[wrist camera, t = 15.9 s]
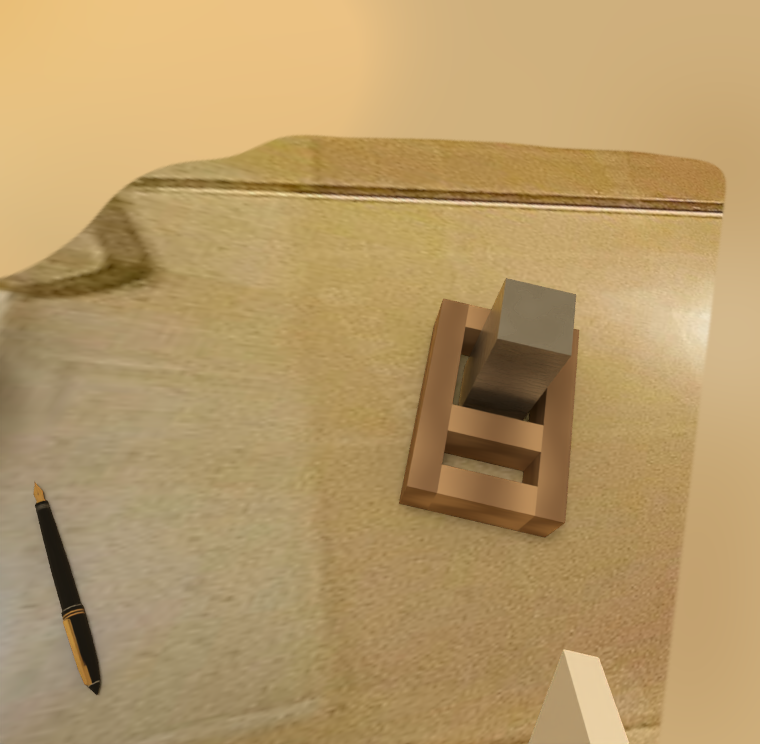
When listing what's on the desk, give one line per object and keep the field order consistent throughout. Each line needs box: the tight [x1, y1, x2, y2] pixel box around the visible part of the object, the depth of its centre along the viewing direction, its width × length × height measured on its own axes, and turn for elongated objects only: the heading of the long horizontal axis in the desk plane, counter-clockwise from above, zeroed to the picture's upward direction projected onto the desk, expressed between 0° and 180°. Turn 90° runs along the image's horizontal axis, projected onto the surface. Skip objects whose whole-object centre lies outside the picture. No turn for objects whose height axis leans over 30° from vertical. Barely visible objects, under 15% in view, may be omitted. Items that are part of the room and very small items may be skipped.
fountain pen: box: [34, 483, 100, 695], centre depth 41 cm, size 14×1×2 cm, turn 27°
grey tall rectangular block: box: [458, 278, 576, 420], centre depth 45 cm, size 4×4×12 cm
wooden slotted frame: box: [399, 299, 579, 537], centre depth 48 cm, size 10×15×4 cm
